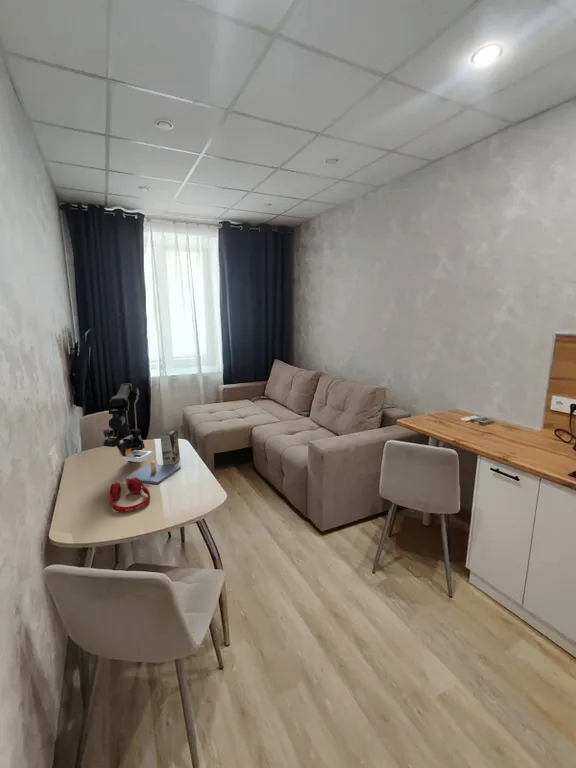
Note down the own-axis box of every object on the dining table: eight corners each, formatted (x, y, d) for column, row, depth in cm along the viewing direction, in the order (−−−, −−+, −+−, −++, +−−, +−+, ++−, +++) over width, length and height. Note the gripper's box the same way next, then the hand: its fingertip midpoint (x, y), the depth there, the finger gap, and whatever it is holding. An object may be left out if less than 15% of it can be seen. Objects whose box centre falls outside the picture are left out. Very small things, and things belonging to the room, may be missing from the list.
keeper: (150, 465, 189) (149, 453, 188) (180, 468, 184) (179, 455, 182) (126, 480, 172) (124, 467, 171) (158, 484, 167) (156, 470, 166)
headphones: (105, 496, 156) (116, 522, 141) (104, 482, 154) (114, 506, 138) (141, 486, 164) (155, 509, 149) (140, 472, 162) (154, 494, 147)
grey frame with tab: (152, 455, 176) (151, 447, 175) (140, 462, 168) (139, 454, 167) (127, 452, 181) (127, 445, 180) (115, 459, 173) (114, 451, 172)
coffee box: (175, 464, 189) (172, 434, 186) (162, 465, 189) (159, 435, 186) (180, 458, 198) (177, 429, 195) (168, 458, 198) (165, 429, 195)
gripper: (122, 417, 184) (126, 446, 187) (92, 428, 167) (96, 460, 170) (140, 418, 180) (144, 448, 183) (111, 429, 163) (115, 462, 166)
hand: (125, 454), depth 176 cm, fingers closed on grey frame with tab, 2 cm apart
